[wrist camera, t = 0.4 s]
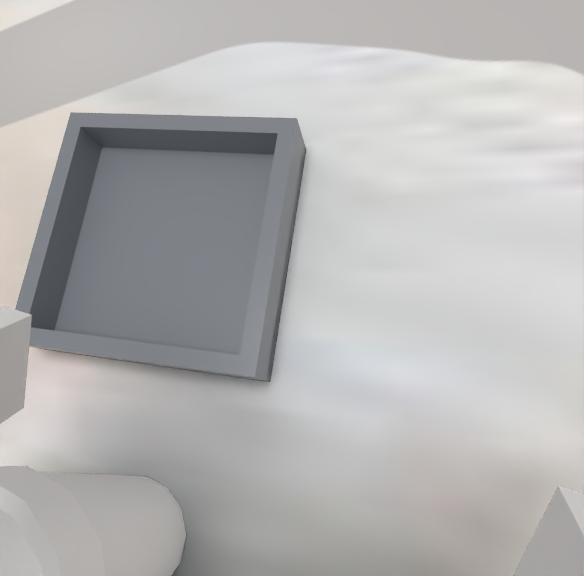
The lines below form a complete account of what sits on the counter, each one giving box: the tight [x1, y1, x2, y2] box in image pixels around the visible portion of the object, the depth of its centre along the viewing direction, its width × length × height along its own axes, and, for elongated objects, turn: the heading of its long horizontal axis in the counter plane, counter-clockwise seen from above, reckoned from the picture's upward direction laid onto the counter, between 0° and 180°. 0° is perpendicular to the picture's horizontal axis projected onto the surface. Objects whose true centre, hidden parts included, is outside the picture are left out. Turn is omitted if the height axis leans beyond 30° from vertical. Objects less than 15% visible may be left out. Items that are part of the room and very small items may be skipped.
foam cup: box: [0, 466, 186, 576], centre depth 21 cm, size 10×9×13 cm
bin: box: [15, 113, 306, 382], centre depth 30 cm, size 15×15×4 cm
